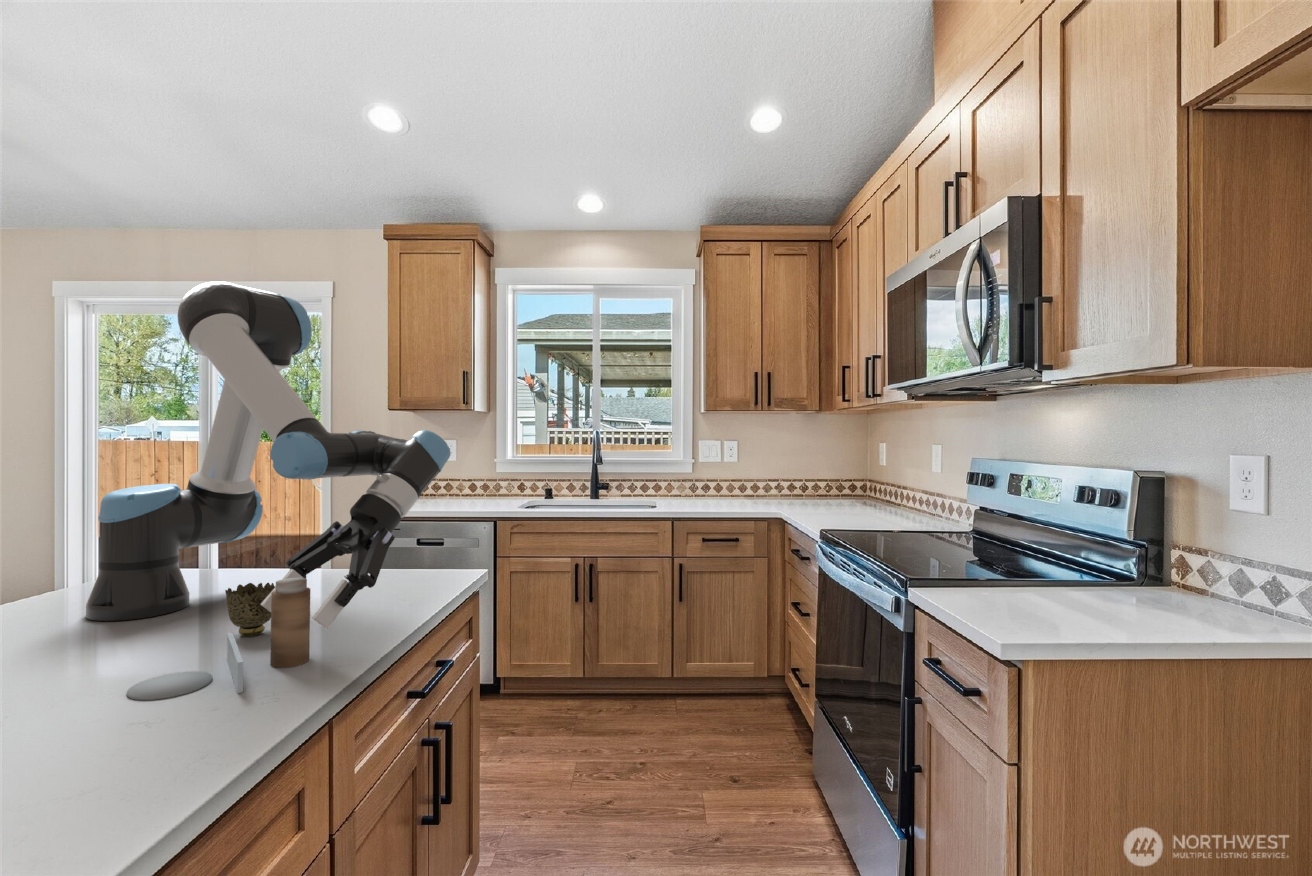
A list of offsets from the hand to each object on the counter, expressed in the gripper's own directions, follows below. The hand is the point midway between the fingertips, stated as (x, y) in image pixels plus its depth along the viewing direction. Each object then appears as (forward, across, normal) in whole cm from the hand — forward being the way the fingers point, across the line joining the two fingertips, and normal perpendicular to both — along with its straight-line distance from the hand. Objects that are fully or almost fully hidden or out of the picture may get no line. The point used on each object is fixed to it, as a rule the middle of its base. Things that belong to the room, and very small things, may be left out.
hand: (292, 616), depth 93 cm
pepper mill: (+5, 0, +5) cm, 7 cm away
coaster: (+14, -4, -5) cm, 16 cm away
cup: (+2, -18, +7) cm, 20 cm away
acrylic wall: (+10, -2, 0) cm, 10 cm away
